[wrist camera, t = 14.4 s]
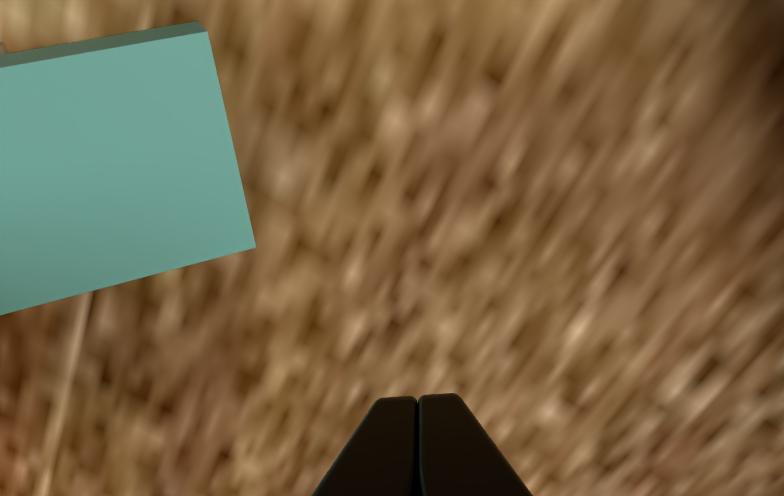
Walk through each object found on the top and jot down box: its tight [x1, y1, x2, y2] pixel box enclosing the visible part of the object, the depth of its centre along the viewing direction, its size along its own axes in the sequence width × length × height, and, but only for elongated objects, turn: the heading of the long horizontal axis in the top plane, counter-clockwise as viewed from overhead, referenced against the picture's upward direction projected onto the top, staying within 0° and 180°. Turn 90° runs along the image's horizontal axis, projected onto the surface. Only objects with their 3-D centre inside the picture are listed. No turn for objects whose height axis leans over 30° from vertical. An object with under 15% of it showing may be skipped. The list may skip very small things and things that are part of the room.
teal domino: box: [0, 21, 256, 315], centre depth 15 cm, size 2×5×8 cm
